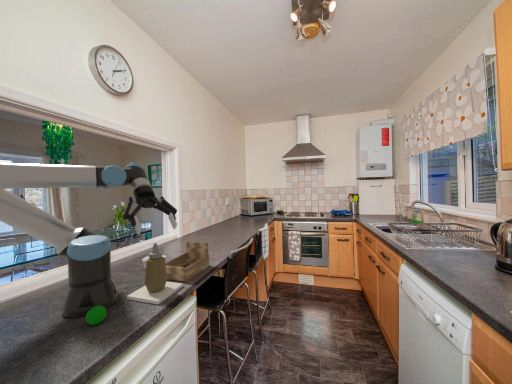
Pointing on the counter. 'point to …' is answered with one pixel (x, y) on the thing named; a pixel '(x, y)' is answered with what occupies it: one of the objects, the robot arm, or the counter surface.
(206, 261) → the wooden box
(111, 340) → the counter surface
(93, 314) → the polyhedron
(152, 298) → the cutting board
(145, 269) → the ramekin
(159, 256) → the squeeze bottle
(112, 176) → the robot arm
